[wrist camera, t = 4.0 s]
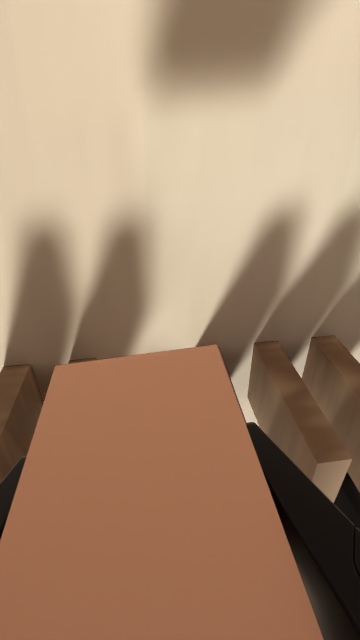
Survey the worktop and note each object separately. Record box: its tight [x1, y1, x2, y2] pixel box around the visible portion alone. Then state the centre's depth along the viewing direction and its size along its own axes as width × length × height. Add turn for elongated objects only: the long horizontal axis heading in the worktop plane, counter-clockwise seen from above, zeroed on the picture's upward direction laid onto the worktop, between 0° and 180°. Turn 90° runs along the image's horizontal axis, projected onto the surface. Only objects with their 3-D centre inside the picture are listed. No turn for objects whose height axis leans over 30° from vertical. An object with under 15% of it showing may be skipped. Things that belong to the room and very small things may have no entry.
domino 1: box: [0, 364, 44, 483], centre depth 20 cm, size 2×6×10 cm, turn 1°
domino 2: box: [0, 344, 324, 640], centre depth 8 cm, size 2×6×10 cm, turn 94°
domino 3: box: [248, 341, 352, 503], centre depth 22 cm, size 2×6×10 cm, turn 2°
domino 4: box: [302, 336, 360, 492], centre depth 22 cm, size 2×6×10 cm, turn 2°
